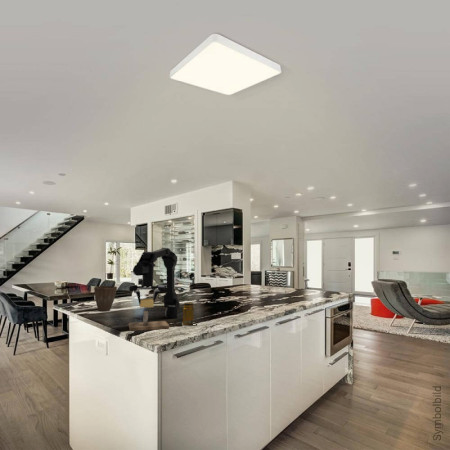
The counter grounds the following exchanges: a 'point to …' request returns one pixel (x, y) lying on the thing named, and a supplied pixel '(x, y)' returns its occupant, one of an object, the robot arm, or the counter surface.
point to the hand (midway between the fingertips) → (146, 304)
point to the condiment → (188, 314)
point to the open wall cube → (146, 302)
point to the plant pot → (104, 297)
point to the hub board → (148, 324)
